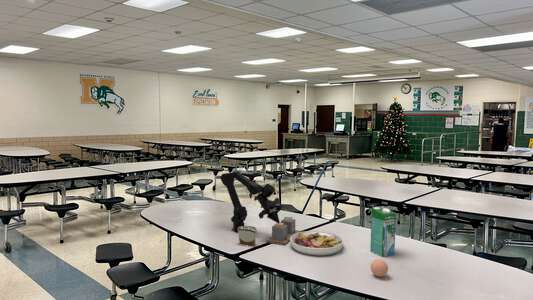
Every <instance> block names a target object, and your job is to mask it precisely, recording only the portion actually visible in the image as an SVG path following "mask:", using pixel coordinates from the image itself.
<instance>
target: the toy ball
mask: <svg viewBox="0 0 533 300" xmlns="http://www.w3.org/2000/svg"><path fill="white" fill-rule="evenodd" d="M370 272H371V273H372V274H373V275H374V276H376V277H377V278H378V277H379V278H381V277H382V278H383V277H385V276H386V275H387V274H388V272H389V265H388V263H387V262H386V261H385V260H383V259H380V258H377V259H374V260H373V261H371V263H370Z"/></svg>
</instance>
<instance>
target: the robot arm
mask: <svg viewBox="0 0 533 300" xmlns="http://www.w3.org/2000/svg"><path fill="white" fill-rule="evenodd" d="M219 178H220V181H221V183H222V184H223V186H224V187H226V189H227V192H228V195H229V198H230V201H231V204H232V207H233V211H232V212H233V216H232V217H231V218H230V221H231V223H232V226H233V227H232V229H231V230H232V231H233V232H235V233H238V231H237V229H238V227H241V226H245V221H246V219H247V216H248V210H247V208H246V206H245V205H244V206H243V205H242V204H241V201H240V198H239V195H238V193H237V190H236V186H235V180H237V182H239V183H241V184H242V186H244V187H245V188H247V191H248V192H249V193H250V194H251V195H252V196H254V199H253V200H254V201H258V203H259V204H260V208H261V209H262V210H261V212H259V213H258V218H259V219H260V220H261V219H263V218H264V216H265V215H267V216H266V218H267V219H270V220H272V221H274V222H275V223H281V220H280V218H279V212H280V211H281V210H283V208H284V206H283V205H282V204H281V199H280V198H279V197H276V198H274V200H272V199H269V198H270V197H271V196H272V195H273V194H274V193H275V191H276V188H275V186H273V185H272V184H270V183H266V184H265V185H264V186H262V185H261V184H259V183H258V182H254V181H252V180H251V179H249V178H247V176H245V175H244V174H243V173H241V172H240V171H239V170H236V171H231V172H226V173H222V174H220V177H219Z"/></svg>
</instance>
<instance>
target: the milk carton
mask: <svg viewBox="0 0 533 300" xmlns="http://www.w3.org/2000/svg"><path fill="white" fill-rule="evenodd" d="M370 217H371V219H370V220H371V222H370V224H371V225H370V248H369V249H370V252H371V253H373V254H375V255H377V256H379V257H381V258H384V257H387V256H388V257H389V256H392V255H395V251H396V250H395V249H396V248H395V247H396V243H395V242H396V221H397V220H396V219H397V214H396V212H394V211H393V210H391V209H390V208H388V207H386V206H385V205H380V206H374V207H371V216H370Z"/></svg>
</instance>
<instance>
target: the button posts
mask: <svg viewBox="0 0 533 300" xmlns="http://www.w3.org/2000/svg"><path fill="white" fill-rule="evenodd" d="M280 223H284V226H283V227H276V223H275V224H274V225H271V237H272V240H277V241H284V240H285V239H287V234H290V235H292V234H293V233H294V232H295V230H296V219H295V218H292V221H284V218H283V219H281V220H280Z"/></svg>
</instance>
